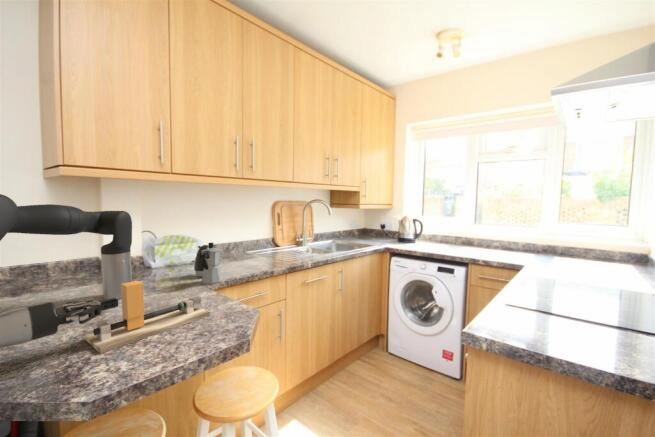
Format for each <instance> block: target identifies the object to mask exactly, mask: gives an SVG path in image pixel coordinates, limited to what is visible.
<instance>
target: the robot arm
mask: <svg viewBox="0 0 655 437" xmlns="http://www.w3.org/2000/svg"><path fill="white" fill-rule="evenodd" d="M81 233H89V234H90V233H91V234H96V235H105V236H112V240H111V241H110V242H109V243H107V244H103V245H102V246H101V247H100V257H101V258H100V260H101V274H102V292H103V294H102V295H103V300H95V301H94V300H93V299H91V300H79V301H77V300H76V301H68V302H66V303H65V304H63V306H59V307H56V305H55V303H53V302H52V301H49V302H44V303H39V304H35V305H30V306H25V307H21V308H16V309H11V310H7V311H4V312H1V313H0V349H2V348H6V347H7V348H8V347H12V346H16V345H21V344H24V343H27V342H31V341H34V340H37V339H42V338H45V337H49V336H53V335H55V334H56V333H57V332H58V331H59V326H61V325H72V324H75V323H77V322H78V324H79V325H82V324H86V323H87V322H90V321H91V320H93V319H95V318H96V317H99V316H100V315H102V311H103V312H104V311H107V310H110V309H113V308H117V307H118V306H119V300H122V297H121V284H123V283H128V282H133V274H132V273H133V271H132V255H131V247H132V243H133V242H132V241H133V220H132V216H131V215H130V213H129V212H127V211H126V210H102V211H86V210H85V211H84V210H82V209H81V208H79V207H76V206H70V205H63V204H50V203H49V204H48V203H47V204H30V205H28V204H27V205H17V203H16V202H15V201H14V200H13V199H12V198H11V197H9V196H6V195H4V194H1V193H0V242H1V241H2V240H3V239H4V237H5V236H6V235H7V234H26V235H27V234H28V235H46V236H49V235H50V236H51V235H52V236H56V235H57V236H69V235H76V234H77V235H78V234H81Z"/></svg>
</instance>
